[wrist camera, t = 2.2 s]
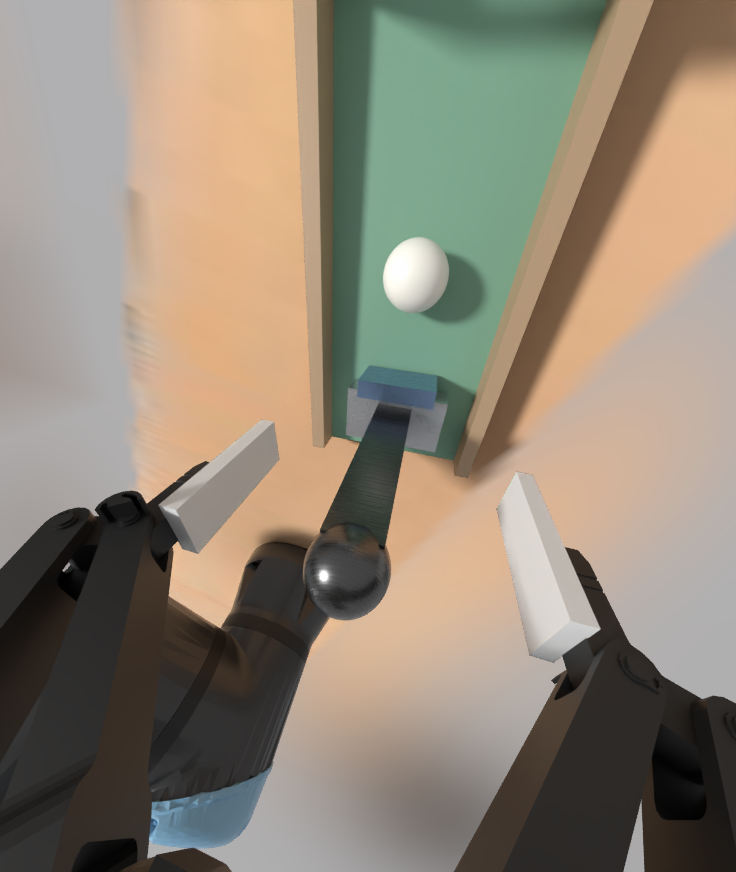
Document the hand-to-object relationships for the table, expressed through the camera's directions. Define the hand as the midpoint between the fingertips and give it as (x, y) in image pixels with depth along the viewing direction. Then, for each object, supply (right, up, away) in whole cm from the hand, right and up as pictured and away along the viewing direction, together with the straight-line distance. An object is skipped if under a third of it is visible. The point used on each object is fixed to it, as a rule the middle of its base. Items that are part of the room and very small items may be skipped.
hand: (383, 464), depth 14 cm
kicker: (+1, +4, +6) cm, 7 cm away
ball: (+2, +10, 0) cm, 11 cm away
